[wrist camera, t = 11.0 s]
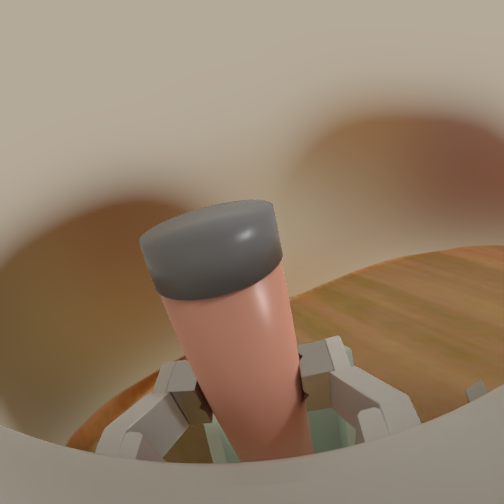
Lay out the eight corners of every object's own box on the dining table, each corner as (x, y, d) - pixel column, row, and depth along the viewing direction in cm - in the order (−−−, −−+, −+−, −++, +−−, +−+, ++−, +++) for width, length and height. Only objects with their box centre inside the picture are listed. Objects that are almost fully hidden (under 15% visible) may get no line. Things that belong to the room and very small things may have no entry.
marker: (285, 428, 13) (226, 198, 9) (330, 462, 11) (303, 202, 6) (234, 463, 12) (126, 235, 7) (276, 505, 9) (164, 260, 5)
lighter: (505, 418, 14) (540, 353, 11) (511, 433, 13) (550, 369, 10) (438, 443, 16) (466, 382, 13) (442, 459, 14) (474, 402, 11)
